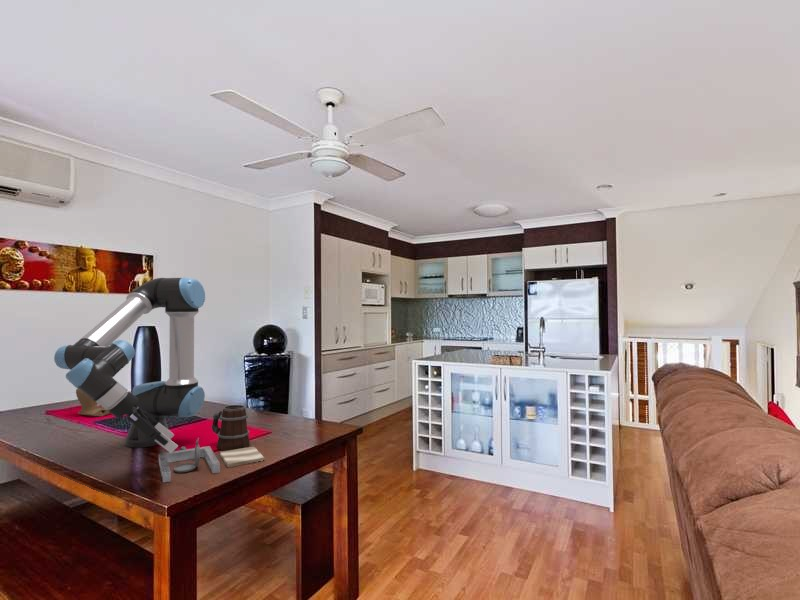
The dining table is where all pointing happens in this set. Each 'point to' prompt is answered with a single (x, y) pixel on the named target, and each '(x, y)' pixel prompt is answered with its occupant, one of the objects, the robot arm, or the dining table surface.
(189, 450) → the u-shaped metal frame
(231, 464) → the ash board
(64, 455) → the dining table surface
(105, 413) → the tan upright piece
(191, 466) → the pocket watch
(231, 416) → the mug
